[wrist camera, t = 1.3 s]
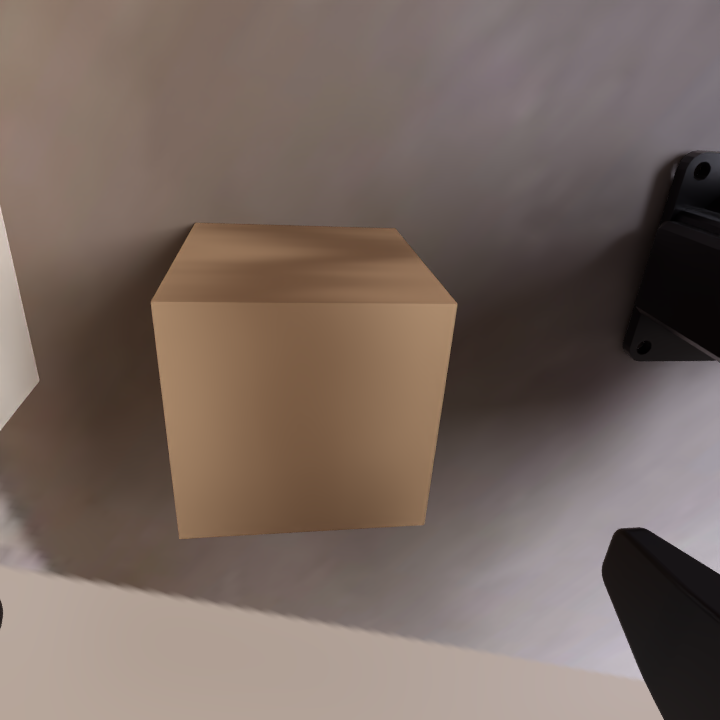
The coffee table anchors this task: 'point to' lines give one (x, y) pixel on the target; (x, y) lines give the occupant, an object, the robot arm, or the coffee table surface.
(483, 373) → the coffee table surface
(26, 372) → the white rectangular box
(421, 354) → the walnut block
